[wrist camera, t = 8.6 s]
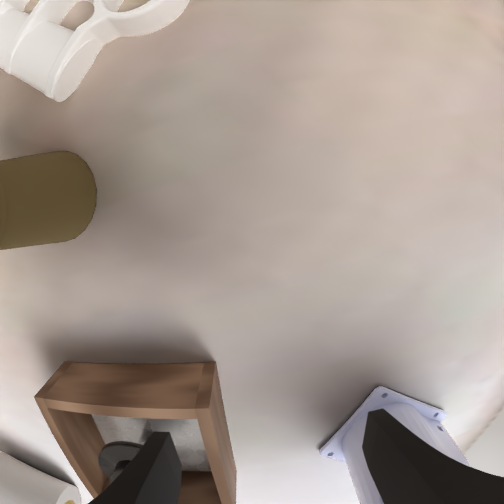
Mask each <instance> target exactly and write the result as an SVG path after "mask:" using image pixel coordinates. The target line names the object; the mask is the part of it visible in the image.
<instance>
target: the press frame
mask: <svg viewBox="0 0 504 504" xmlns="http://www.w3.org/2000/svg"><path fill="white" fill-rule="evenodd" d="M34 398H35V400H36V402H37V404H38V406H39V408H40V410H41V412H42V414H43V416H44V418H45V420H46V422H47V424H48V426H49V428H50V430H51V432H52V433H53V435H54V437H55V439H56V441H57V442H58V444H59V446H60V448H61V449H62V451H63V453H64V454H65V456H66V458H67V459H68V461H69V463H70V464H71V466H72V467H73V469H74V470H75V472H76V473H77V475H78V477H79V478H80V480H81V481H82V482H83V484H84V485H85V487H86V488H87V490H88V491H89V493H90V494H91V495H92V497H93V498H94V499H95V498H96V497H97V496H98V495H99V494H100V493H101V492H103V491H104V490H105V489H106V488H107V487H108V486H109V485H110V479H109V478H108V477H107V476H106V475H105V474H104V472H103V471H102V470H101V468H100V466H99V463H98V457H99V454H100V452H101V450H102V448H103V447H104V446H105V445H106V444H105V442H104V440H103V438H102V436H101V434H100V432H99V430H98V428H97V426H96V423H95V421H94V419H93V417H92V415H91V414H95V415H104V416H116V417H130V418H149V419H197V420H198V424H199V428H200V432H201V435H202V439H203V443H204V447H205V450H206V454H207V457H208V461H209V464H210V468H211V471H182V473H181V487H180V493H179V498H178V503H177V504H236V467H235V462H234V457H233V452H232V447H231V442H230V437H229V432H228V427H227V422H226V417H225V411H224V406H223V400H222V395H221V389H220V384H219V378H218V372H217V366H216V362H204V363H178V364H104V363H79V362H64V363H63V364H62V365H61V367H60V368H59V369H58V370H57V371H56V372H55V373H54V374H53V376H52V377H51V378H50V379H49V380H48V381H47V383H46V384H45V385H44V386H43V387H42V388H41V389H40V391H39V392H38V393H37V394H36V395H35V396H34Z"/></svg>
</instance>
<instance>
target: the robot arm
mask: <svg viewBox="0 0 504 504" xmlns="http://www.w3.org/2000/svg"><path fill="white" fill-rule="evenodd" d="M384 393H385V394H384ZM383 394H384V395H383ZM445 417H446V412H445V411H443V410H441V409H438V408H435V407H433V406H430V405H428V404H425V403H422V402H420V401H417V400H415V399H412V398H410V397H407V396H405V395H402V394H400V393H397V392H395V391H392V390H390V389H388V388H385V387H383V386H379V387H377V388H376V389H374V391H373V392H372V393H371V394H370V395H369V397H368V398H367V399H366V400H365V401H364V402H363V404H362V405H361V406H360V407H359V408H358V409H357V411H356V412H355V413H354V414H353V415H352V416H351V417H350V418H349V420H348V421H347V422H346V423H345V424H344V425H343V426H342V427H341V428H340V429H339V430H338V431H337V432H336V434H335V435H334V436H333V437H332V438H331V439H330V440H329V441H328V442H327V443H326V444H325V445H324V446H323V447H322V448H321V449H320V451H319V452H320V455H321V456H324V457H328V458H332V459H336V460H340V461H344V462H346V463H347V466H348V469H349V472H350V475H351V478H352V481H353V484H354V487H355V490H356V493H357V496H358V499H359V502H360V504H504V477H500V476H496V475H491V474H488V473H485V472H482V471H480V470H477V469H474V468H472V467H469V463H468V461H467V459H466V458H465V456H464V455H463V453H462V452H461V450H460V449H459V448H458V446H457V445H456V443H455V442H454V441H453V439H452V438H451V436H450V435H449V434H448V432H447V431H446V429H445V428H444V427H443V425H442V424H441V421H442V420H443V419H444V418H445ZM330 452H331V453H330ZM181 473H182V464H181V462H180V459H179V456H178V454H177V451H176V448H175V445H174V443H173V440H172V437H171V434H170V432H157V431H154V432H153V433H152V434H151V435H150V437H149V438H148V439H147V441H146V442H145V443H144V445H143V446H142V447H141V449H140V450H139V451H138V453H137V454H136V455H135V457H134V458H133V459H132V460H131V461H130V463H129V464H128V465H127V466H126V467H125V469H124V470H123V471H122V472H121V473H120V474H119V475H118V476H117V477H116V479H115V480H114V481H113V482H112V483H111V484H110V485H109V486H108V487H107V488H106V489H105V490H104V491H103V492H101V493H100V494H99V495H98V496H97V497H96V498H95V499H93V500H92V501H91V502H90V503H88V504H177V503H178V498H179V493H180V487H181Z"/></svg>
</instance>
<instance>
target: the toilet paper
mask: <svg viewBox="0 0 504 504" xmlns="http://www.w3.org/2000/svg"><path fill="white" fill-rule="evenodd" d="M0 504H82V502H81V495H80V492H79V490H78V488H77V487H76V486H74V485H71V484H69V483H66V482H64V481H61V480H59V479H57V478H54V477H52V476H50V475H48V474H46V473H43V472H41V471H39V470H37V469H35V468H33V467H31V466H29V465H27V464H25V463H23V462H21V461H19V460H17V459H15V458H14V457H12V456H10V455H8V454H6V453H5V452H2V451H0Z"/></svg>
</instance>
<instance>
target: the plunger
mask: <svg viewBox="0 0 504 504" xmlns="http://www.w3.org/2000/svg"><path fill="white" fill-rule="evenodd" d="M91 415H92V417H93V419H94V421H95V423H96V426H97V428H98V430H99V432H100V434H101V436H102V438H103V440H104V442H105V444H106V445H105V446H104V447H103V448H102V450H101V452H100V454H99V457H98V463H99V466H100V468H101V470H102V471H103V472H104V474H105V475H106V476H107V477H108V478H109V479H110V484H111V483H112V482H113V481H114V480H115V479H116V477H117V476H118V475H119V474H120V473H121V472H122V471H123V470H124V469H125V467H126V466H127V465H128V464H129V463H130V461H131V460H132V459H133V458H134V457H135V455H136V454H137V453H138V451H139V450H140V449H141V447H142V446H143V445H144V443H145V442H146V441H147V439H148V438H149V437H150V435H151V434H152V433H153V432H154V431H157V432H170V434H171V437H172V440H173V443H174V445H175V448H176V451H177V454H178V456H179V459H180V462H181V464H182V471H211V468H210V464H209V461H208V457H207V454H206V450H205V447H204V443H203V439H202V435H201V432H200V428H199V424H198V420H197V419H149V418H130V417H116V416H104V415H95V414H91Z"/></svg>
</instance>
